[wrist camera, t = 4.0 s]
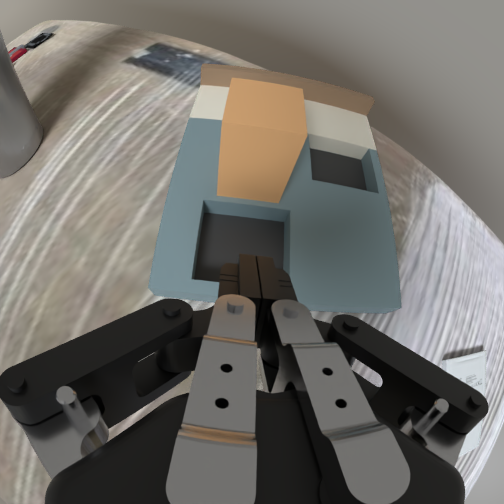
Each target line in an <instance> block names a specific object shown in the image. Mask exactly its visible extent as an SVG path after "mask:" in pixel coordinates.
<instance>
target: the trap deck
mask: <svg viewBox="0 0 504 504" xmlns="http://www.w3.org/2000/svg"><path fill="white" fill-rule="evenodd" d="M232 78H241V79H249V80H256V81H263V82H269V83H275V84H281V85H286V86H291V87H296V88H301V89H303V95H304V104H305V114H306V124H307V135H308V136H307V138H306V140H305V143H304V145H303V147H302V150H301V152H300V154H299V157H298V159H297V161H296V164H295V166H294V168H293V171H292V173H291V175H290V178H289V180H288V182H287V185H286V187H285V189H284V192H283V194H282V196H281V199H280V201H279V203H272V202H265V201H257V200H249V199H241V198H233V197H224V196H217V184H218V168H219V153H220V139H221V126H222V119H223V114H224V110H225V105H226V101H227V96H228V92H229V87H230V83H231V79H232ZM374 102H375V101H374V99H373V97H371V96H368V95H365V94H362V93H359V92H356V91H353V90H349V89H346V88H343V87H339V86H336V85H332V84H328V83H324V82H320V81H317V80H312V79H308V78H303V77H299V76H294V75H289V74H284V73H279V72H273V71H267V70H261V69H254V68H246V67H238V66H228V65H217V64H203V65H202V67H201V86H200V88H199V91H198V94H197V97H196V100H195V103H194V105H193V108H192V111H191V114H190V117H189V120H188V123H187V127H186V130H185V133H184V136H183V139H182V143H181V146H180V149H179V153H178V156H177V160H176V163H175V167H174V171H173V174H172V178H171V182H170V186H169V190H168V194H167V198H166V202H165V206H164V210H163V215H162V219H161V223H160V228H159V233H158V237H157V242H156V247H155V252H154V258H153V263H152V268H151V274H150V280H149V286H148V288H149V289H150V290H151V291H152V292H153V294H154V295H157V296H164V297H172V298H180V299H188V300H196V301H205V302H214V303H215V301H216V300H217V299H218V290H219V281H220V272H221V267H222V266H223V265H224V264H225V263H234V264H237V263H238V256H239V253H240V254H249V255H255V256H256V255H258V256H267V257H273V261H274V264H275V268H279V269H283V270H285V271H286V272H287V273H288V274H289V276H290V279H291V282H292V285H293V288H294V291H295V294H296V297H297V300H298V302H299V303H301V304H303V305H305V306H306V307H307V308H308V310H310V311H328V312H351V313H388V312H391V311H394V310H397V309H400V308H401V294H400V281H399V271H398V261H397V253H396V245H395V238H394V231H393V225H392V219H391V213H390V208H389V202H388V197H387V192H386V188H385V183H384V179H383V174H382V170H381V166H380V162H379V158H378V154H377V150H376V146H375V143H374V139H373V136H372V132H371V129H370V125H369V122H368V119H367V114H368V112H369V111H370V109H371V107H372V106H373V104H374Z"/></svg>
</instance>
